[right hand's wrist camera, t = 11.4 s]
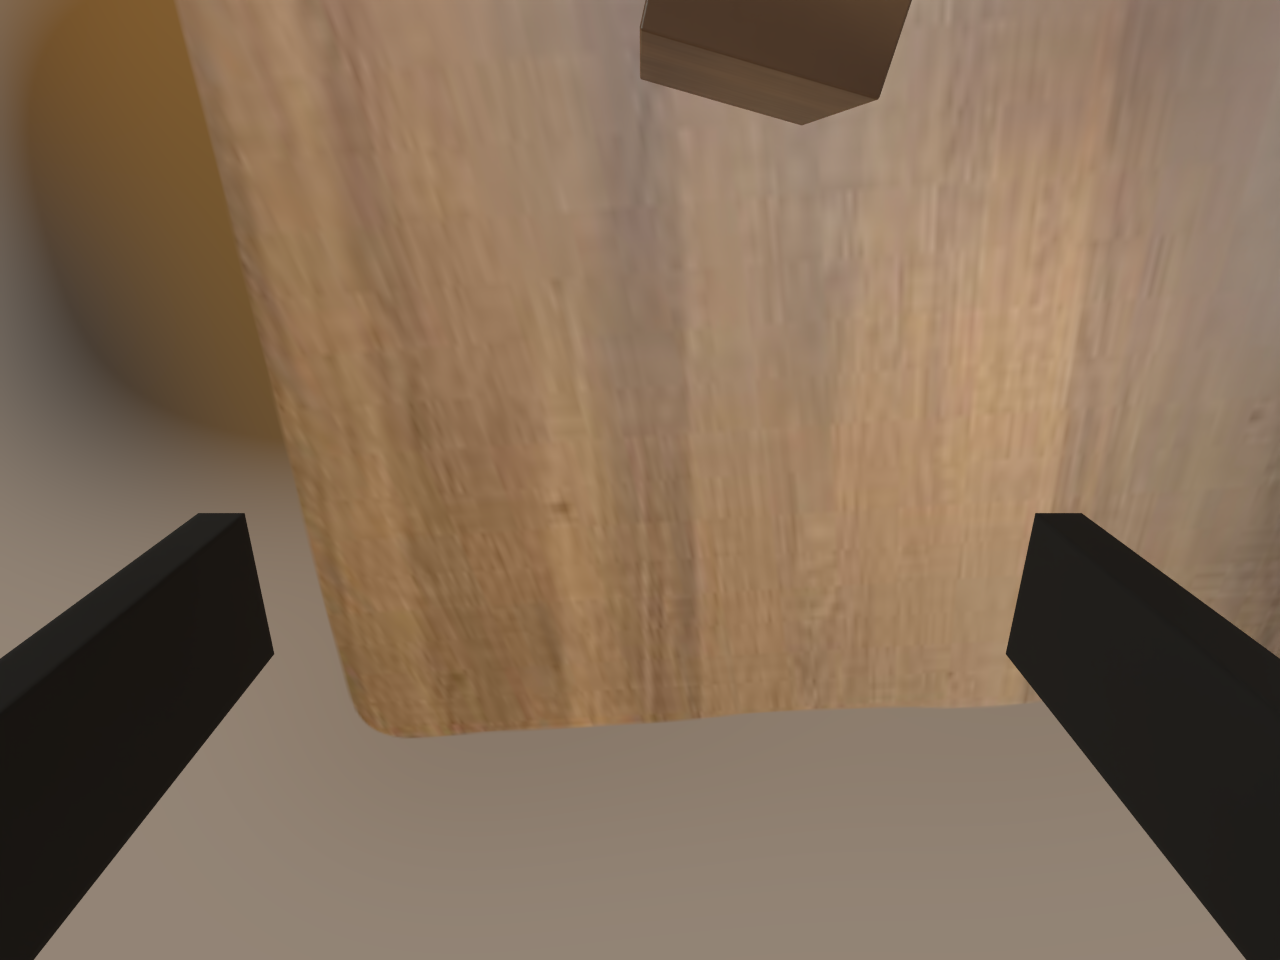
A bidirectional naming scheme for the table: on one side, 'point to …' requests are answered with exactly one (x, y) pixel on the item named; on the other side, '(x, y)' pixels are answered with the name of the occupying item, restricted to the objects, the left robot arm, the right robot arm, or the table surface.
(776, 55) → the bar
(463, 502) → the table surface
